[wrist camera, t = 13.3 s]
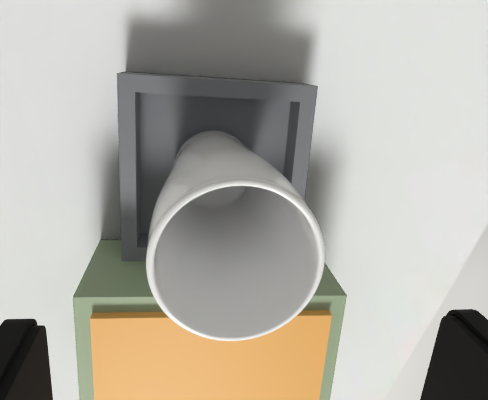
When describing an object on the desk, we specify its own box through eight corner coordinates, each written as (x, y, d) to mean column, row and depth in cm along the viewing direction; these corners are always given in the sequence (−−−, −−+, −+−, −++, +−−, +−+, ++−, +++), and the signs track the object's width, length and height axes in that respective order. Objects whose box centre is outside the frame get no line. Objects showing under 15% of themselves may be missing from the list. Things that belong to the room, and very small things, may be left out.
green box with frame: (93, 69, 27) (54, 74, 19) (330, 84, 30) (384, 94, 22) (105, 353, 34) (79, 444, 26) (297, 348, 37) (328, 431, 28)
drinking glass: (174, 221, 30) (166, 361, 16) (153, 127, 28) (121, 196, 14) (267, 203, 31) (336, 324, 17) (253, 109, 29) (319, 159, 14)
